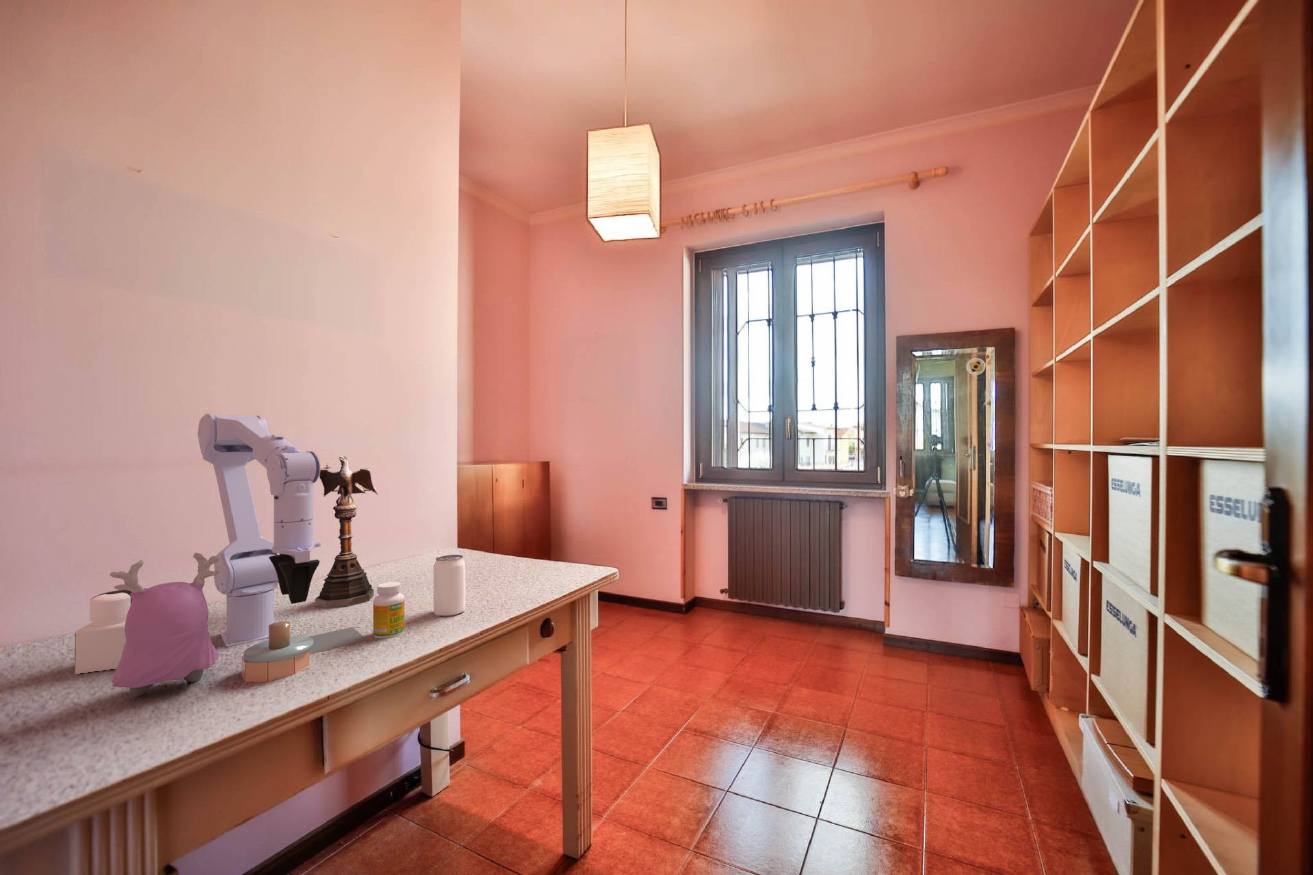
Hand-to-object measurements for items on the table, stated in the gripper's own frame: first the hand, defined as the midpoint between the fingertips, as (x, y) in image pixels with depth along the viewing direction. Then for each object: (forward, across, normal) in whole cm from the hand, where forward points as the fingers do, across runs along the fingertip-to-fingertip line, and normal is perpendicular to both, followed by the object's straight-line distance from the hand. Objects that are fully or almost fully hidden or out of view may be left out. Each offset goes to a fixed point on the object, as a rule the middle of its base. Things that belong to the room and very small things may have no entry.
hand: (293, 597), depth 91 cm
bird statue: (+10, +33, -16) cm, 38 cm away
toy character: (+10, -1, +16) cm, 19 cm away
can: (+10, +3, -29) cm, 31 cm away
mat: (+10, +2, -6) cm, 12 cm away
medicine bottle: (+10, +18, +22) cm, 30 cm away
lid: (+7, -6, +3) cm, 10 cm away
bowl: (+10, -6, +4) cm, 12 cm away
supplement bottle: (+10, -2, -15) cm, 18 cm away
